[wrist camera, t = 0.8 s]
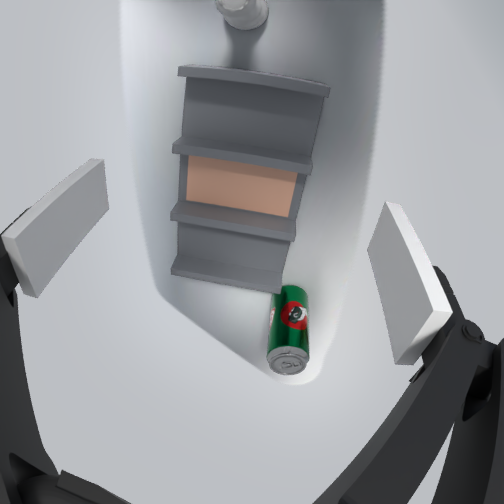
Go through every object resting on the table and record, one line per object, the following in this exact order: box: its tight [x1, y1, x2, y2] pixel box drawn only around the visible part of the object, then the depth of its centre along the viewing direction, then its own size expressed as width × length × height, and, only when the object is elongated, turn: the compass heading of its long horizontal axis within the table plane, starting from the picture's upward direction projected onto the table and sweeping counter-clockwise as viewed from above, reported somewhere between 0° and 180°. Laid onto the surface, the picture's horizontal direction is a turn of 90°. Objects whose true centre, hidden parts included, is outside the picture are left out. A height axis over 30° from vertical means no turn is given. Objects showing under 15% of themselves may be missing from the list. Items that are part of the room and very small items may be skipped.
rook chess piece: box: [215, 0, 269, 30], centre depth 21 cm, size 4×4×8 cm
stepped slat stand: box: [170, 65, 330, 294], centre depth 34 cm, size 25×14×4 cm, turn 172°
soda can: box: [267, 285, 309, 375], centre depth 40 cm, size 5×5×12 cm
